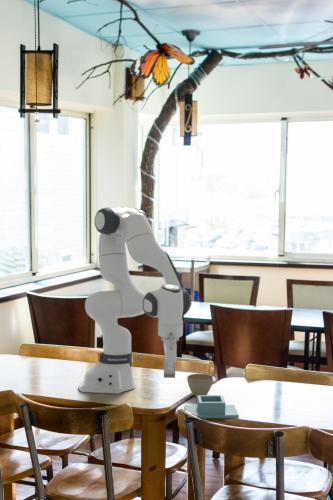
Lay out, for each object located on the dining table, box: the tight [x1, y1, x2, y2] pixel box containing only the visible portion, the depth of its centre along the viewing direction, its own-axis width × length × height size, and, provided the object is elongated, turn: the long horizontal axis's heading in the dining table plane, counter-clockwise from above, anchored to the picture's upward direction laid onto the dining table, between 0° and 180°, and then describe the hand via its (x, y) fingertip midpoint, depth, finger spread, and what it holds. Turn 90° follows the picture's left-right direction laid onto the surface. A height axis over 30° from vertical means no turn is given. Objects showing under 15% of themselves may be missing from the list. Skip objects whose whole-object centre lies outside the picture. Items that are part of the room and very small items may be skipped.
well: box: [184, 394, 239, 419], centre depth 251 cm, size 18×12×5 cm, turn 92°
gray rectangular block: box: [163, 354, 177, 379], centre depth 256 cm, size 4×4×8 cm
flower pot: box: [186, 373, 214, 397], centre depth 273 cm, size 10×10×7 cm
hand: (169, 368), depth 255 cm, fingers closed on gray rectangular block
